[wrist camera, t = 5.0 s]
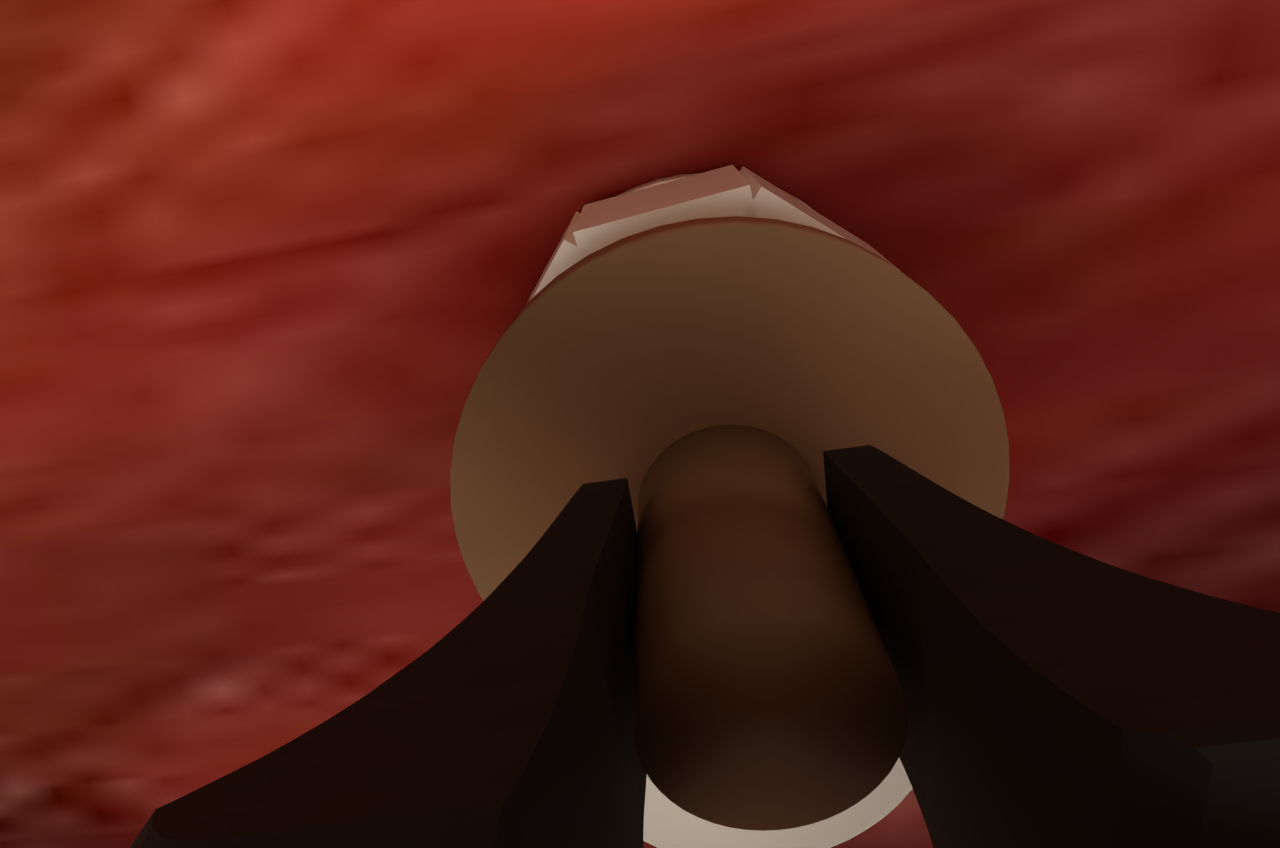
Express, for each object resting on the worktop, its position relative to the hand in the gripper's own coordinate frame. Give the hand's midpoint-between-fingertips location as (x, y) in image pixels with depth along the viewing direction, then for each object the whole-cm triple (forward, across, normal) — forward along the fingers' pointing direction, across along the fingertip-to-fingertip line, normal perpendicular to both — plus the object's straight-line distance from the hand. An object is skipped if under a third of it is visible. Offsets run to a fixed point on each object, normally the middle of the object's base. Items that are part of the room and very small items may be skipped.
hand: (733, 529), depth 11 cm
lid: (+2, 0, 0) cm, 2 cm away
